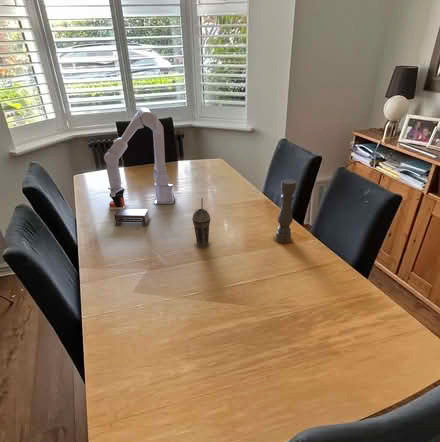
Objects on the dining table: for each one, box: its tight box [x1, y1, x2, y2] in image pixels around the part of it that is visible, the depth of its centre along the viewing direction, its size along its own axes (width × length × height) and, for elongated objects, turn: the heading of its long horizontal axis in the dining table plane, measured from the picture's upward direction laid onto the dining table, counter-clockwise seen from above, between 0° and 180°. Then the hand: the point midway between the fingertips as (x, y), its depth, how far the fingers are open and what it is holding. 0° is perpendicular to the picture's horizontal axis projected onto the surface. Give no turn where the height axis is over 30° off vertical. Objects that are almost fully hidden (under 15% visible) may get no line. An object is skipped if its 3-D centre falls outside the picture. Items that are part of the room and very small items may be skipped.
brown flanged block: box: [113, 208, 150, 226], centre depth 167 cm, size 14×7×5 cm, turn 88°
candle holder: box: [275, 178, 297, 244], centre depth 145 cm, size 6×6×25 cm
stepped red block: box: [108, 196, 126, 210], centre depth 181 cm, size 7×4×5 cm, turn 88°
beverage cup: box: [192, 197, 211, 249], centre depth 144 cm, size 7×7×20 cm
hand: (119, 205), depth 182 cm, fingers closed on stepped red block, 4 cm apart
